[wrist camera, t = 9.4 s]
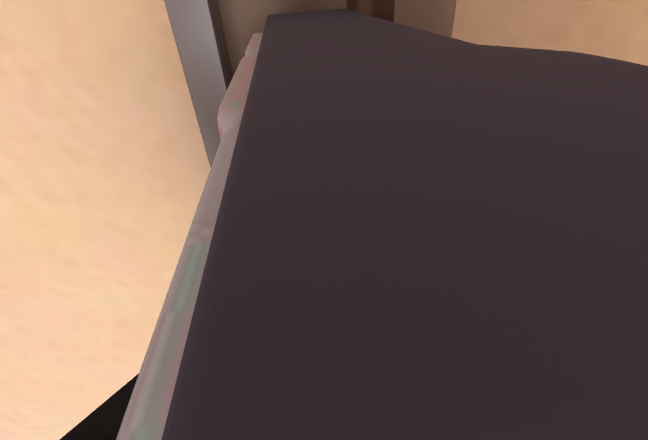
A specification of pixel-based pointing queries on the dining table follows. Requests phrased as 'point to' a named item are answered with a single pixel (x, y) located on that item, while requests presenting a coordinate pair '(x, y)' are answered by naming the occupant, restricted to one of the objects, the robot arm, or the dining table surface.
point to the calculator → (410, 246)
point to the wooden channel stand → (250, 17)
